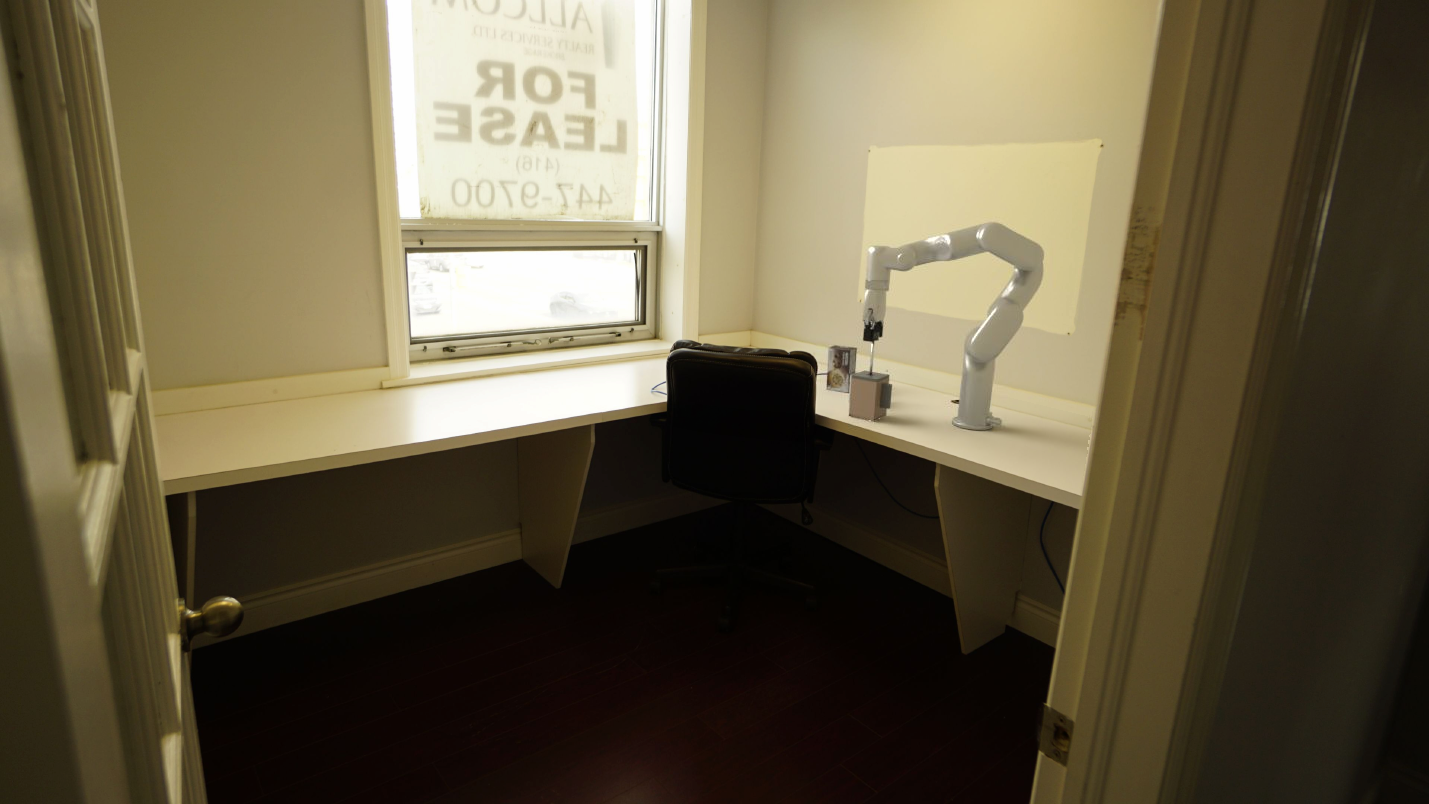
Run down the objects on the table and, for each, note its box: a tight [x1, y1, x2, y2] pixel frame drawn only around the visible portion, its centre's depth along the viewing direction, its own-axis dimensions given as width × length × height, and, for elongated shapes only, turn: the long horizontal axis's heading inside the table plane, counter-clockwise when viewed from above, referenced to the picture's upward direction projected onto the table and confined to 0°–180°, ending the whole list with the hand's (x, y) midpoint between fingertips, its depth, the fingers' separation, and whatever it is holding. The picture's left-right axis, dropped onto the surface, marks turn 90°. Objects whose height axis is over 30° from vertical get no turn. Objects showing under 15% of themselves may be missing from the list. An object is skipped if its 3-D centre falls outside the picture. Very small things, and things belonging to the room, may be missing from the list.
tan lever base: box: [848, 370, 893, 422], centre depth 252 cm, size 12×9×14 cm
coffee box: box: [825, 344, 858, 394], centre depth 287 cm, size 9×6×16 cm
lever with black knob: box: [868, 332, 880, 376], centre depth 250 cm, size 6×6×17 cm
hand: (872, 339), depth 248 cm, fingers open, 9 cm apart
